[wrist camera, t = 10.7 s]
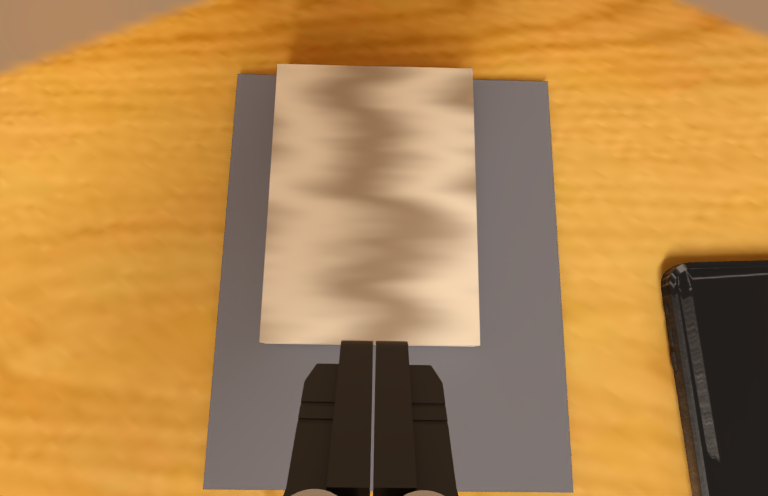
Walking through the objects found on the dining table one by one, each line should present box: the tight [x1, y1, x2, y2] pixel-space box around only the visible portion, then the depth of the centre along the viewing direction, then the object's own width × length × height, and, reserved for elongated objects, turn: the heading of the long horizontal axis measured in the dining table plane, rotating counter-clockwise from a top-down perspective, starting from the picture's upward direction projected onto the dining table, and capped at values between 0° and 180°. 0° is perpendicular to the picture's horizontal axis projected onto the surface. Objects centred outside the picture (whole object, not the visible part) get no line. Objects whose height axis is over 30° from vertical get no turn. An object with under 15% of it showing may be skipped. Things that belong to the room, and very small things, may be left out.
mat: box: [203, 74, 573, 492], centre depth 26 cm, size 17×21×1 cm
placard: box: [259, 64, 480, 347], centre depth 26 cm, size 10×2×14 cm
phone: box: [661, 260, 768, 496], centre depth 25 cm, size 8×1×15 cm
